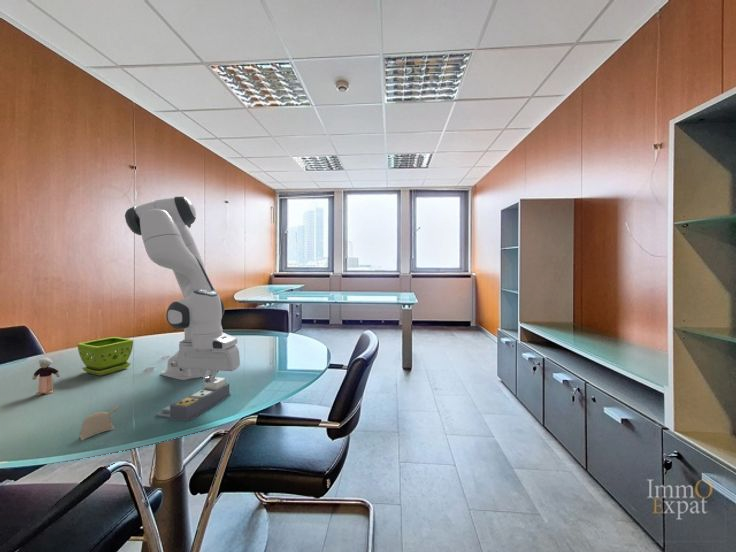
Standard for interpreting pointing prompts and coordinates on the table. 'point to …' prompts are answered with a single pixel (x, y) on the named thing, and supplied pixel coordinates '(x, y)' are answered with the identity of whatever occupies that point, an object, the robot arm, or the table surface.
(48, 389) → the grandmother figurine
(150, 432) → the table surface
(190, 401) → the tile three
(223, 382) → the tile one
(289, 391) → the table surface
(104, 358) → the flower pot
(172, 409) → the console
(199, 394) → the tile two
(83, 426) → the decorative ornament
